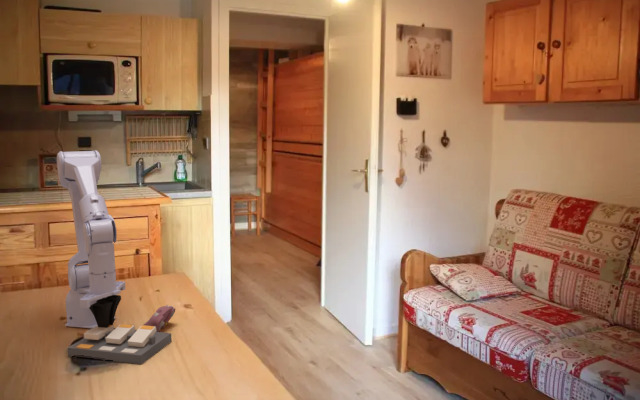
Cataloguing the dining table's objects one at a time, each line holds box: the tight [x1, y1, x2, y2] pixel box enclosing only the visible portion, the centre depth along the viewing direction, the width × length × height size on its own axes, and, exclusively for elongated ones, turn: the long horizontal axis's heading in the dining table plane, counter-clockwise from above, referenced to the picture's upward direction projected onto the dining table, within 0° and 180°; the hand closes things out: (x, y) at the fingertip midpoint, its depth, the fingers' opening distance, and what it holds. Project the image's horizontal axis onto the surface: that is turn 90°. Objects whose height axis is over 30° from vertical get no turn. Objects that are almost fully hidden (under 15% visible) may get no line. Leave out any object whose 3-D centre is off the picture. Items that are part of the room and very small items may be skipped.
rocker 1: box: [83, 324, 115, 340], centre depth 130 cm, size 4×6×1 cm, turn 166°
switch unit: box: [66, 327, 172, 365], centre depth 129 cm, size 18×13×4 cm
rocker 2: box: [105, 323, 136, 344], centre depth 129 cm, size 4×6×1 cm, turn 166°
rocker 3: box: [128, 324, 157, 347], centre depth 127 cm, size 4×6×1 cm, turn 166°
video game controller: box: [143, 304, 176, 332], centre depth 141 cm, size 10×5×7 cm, turn 169°
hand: (105, 328), depth 132 cm, fingers closed on rocker 1
